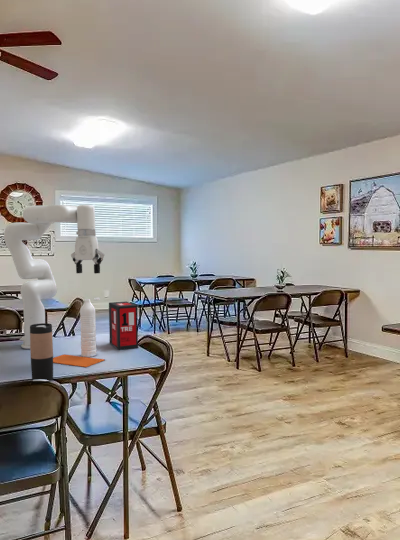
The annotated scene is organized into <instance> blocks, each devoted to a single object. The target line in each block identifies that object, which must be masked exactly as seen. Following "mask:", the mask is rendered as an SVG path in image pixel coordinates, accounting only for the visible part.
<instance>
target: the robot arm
mask: <svg viewBox="0 0 400 540" xmlns="http://www.w3.org/2000/svg"><path fill="white" fill-rule="evenodd" d="M22 218H23V219H24V221H25V222H19V221H17V222H11V223H9V224H8V225H6V226H5V228H4V232H3V235H4V236H3V239H4V243H5V245H6V247H7V249H8V251H9V253H10V255H11V258H12V261H13V264H14V266H15V270H16V272H17V275H18V277H19V278H20V279H22V280H27V281H25V282H23V283H22V284H21V286H20V296H21V301H22V306H23V309H22V310H23V331H24V336H21V337H20V338H19V341H20V342H22V344H21V345H20V347H21V348H22V349H25V350H30V325H33V324H41V323H46V310H45V306H44V303H43V302H42V300H46V299H52V298H54V297H55V296H56V295H57V292H58V286H57V283H56V282H57V281H56V280H55V277H54V273H53V271H52V268H51V266H50V264H49V263H48V261H47V260H45V259H43V258H34V257H33V256H32V254H31V250H30V249H29V247H28V246H27V245H26V244H25V243H24V242H23V241H37V240H38V241H39V240H40V239H41V238H42V237H43V236H44V235H45V233H46V232H47V230H48V229H49V228H50V227H51V225H52V224H55V223H62V224H63V223H64V224H65V223H66V224H67V223H69V224H76V227H77V231H76V235H77V236H76V238H75V241H74V242H75V243H74V252H73V253H71V254H70V256H71V259H72V261H73V262H74V264H75V272H76V273H75V274H83V264H82V262H83V261H91V260H92V261H93V263H94V264H93V273H94V274H95V275H96V274H100V273H101V264H102V262H103V260H104V257H105V253H104V252H103V251H101V250H100V247H99V240H98V237H97V235H96V209H95V206H94V205H91V204H80V205H71V204H70V205H69V204H48V205H47V204H45V205H29V206H27V207H25V208H24V209H23V211H22Z"/></svg>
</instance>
